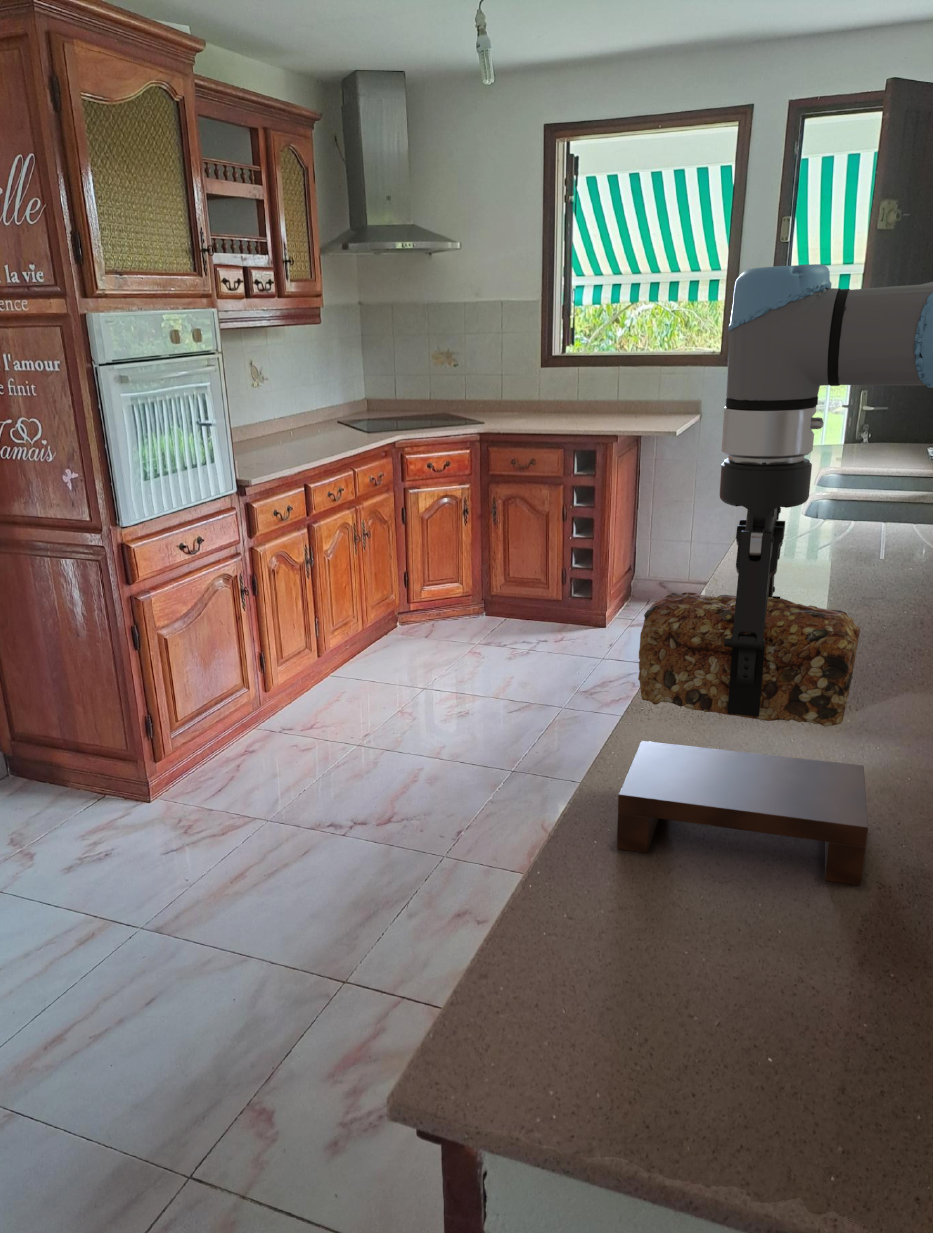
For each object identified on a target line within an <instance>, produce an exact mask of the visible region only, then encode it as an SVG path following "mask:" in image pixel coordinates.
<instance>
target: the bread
mask: <svg viewBox="0 0 933 1233" xmlns="http://www.w3.org/2000/svg"><path fill="white" fill-rule="evenodd" d="M735 604H736V595H731V594H720V595H716V596H714V595H705V594H699V593H697V592H686V591H685V592H682V593H679V592H672V593H670V594H666V595H665V596H664V597H661V598H659V599H657V600H656V601H654V602H652V604H651V605H650V607H649V608H648V609H647V610H646V612H645V613H644V614H643V617H644V618H643V625H642V628H641V631H640V637H639V649H638V660H639V661H638V678H637V680H638V681H639V682H638V683H639V688H640V696H641V699H642V701H646V702H650V703H651V704H652V705H659V704H660V703H669V704H673V705H675V706H678V707H680V708H681V707H684V708H685V709H688V710H692V711H701V712H704V713H716V714H722V715H728V716H734V717H740V718H747V719H753V720H759V721H764V722H765V721H766V722H772V721H785V722H789V721H794V722H797V723H809V724H813V725H820V726H822V727H824V728H827V727H834V726H837V725H841V724H842V723H843V721H844V717H845V712H846V709H847V706H848V700H849V696H850V690H851V684H852V680H853V673H854V666H855V662H856V656H857V651H858V645H859V640H860V633H861V632H860V631H861V626H857V625H856V624H855V622H854V618H852V617H850V616H848V614H847V612H846V611H844V610H839V609H827V608H822V607H818V606H815V605H811V604H810V605H805V604H802V603H796V602H794V601H790V600H788V599H785V598H783V597H782V598H781V597H780V599H776V598H772V597H768V602H767V611H766V621H765V630H764V640H765V652H764V664H763V676H762V688H761V700H760V712H759V717H755V716H745V715H735V714H727V712H728V698H729V684H730V669H731V655H732V647H724V640H725V638H727V639H731V637H732V636H733V626H734V615H735ZM741 634H754V635H756V634H755V633H752V632H741Z"/></svg>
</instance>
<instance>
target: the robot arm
mask: <svg viewBox="0 0 933 1233" xmlns="http://www.w3.org/2000/svg"><path fill="white" fill-rule="evenodd" d="M830 273H831V271H830V269H829V267H828V266H826V265H825V264H821V263H817V264H816V263H815V264H814V263H813V264H799V265H798V264H797V265H775V266H764V267H754V268H753V267H752V268H749V269H746V270H744V271H743V272H742V273H740V274H739V276H738V277H737V278H736V280H735V283H734V288H733V289H734V290H733V300H732V307H731V315H730V323H729V325H728V326H727V328H728V329H727V332H728V349H727V350H728V352H727V371H726V372H727V373H726V374H727V376H726V396H725V405H724V408H723V422H722V436H721V437H722V439H721V452H723V453H724V454H725V455H726V456H728V457H727V458H726V459H724V460H723V462H722V463H721V465H720V467H721V468H720V479H719V480H720V482H719V498H720V501H721V502H722V503H724V504H726V505H729V506H733V507H743V508H745V509H746V510H747V514H746V519H739V522H738V525H737V526H736V533H735V541H736V546H737V552H736V560H735V570H736V573H737V585H736V595H735V596H736V604H735V615H734V626H733V636H732V637H731V639H727V638H725V640H724V647H732V655H731V669H730V684H729V698H728V712H727V714H735V715H745V716H755V717H759V712H760V700H761V688H762V676H763V664H764V652H765V640H764V630H765V621H766V611H767V602H768V597H772V598H776V599H780V598H781V596H778V595H777V596H776V595H774V593H775V592H776V587H775V575H776V574H777V571H778V564H779V560H780V559H781V558H780V557H781V549H782V547H783V544H784V538H785V530H786V520H779V519H780V514H781V513H782V512H781V511H782V508H785V509H788V508H795V507H798V506H801V505H803V504H805V503H806V502H807V501H808V500H809V498H810V490H811V480H812V469H813V468H812V467H813V463H812V462H811V460H810V459H808V458H805V456H807V455H809V454H811V453H812V452H813V450H814V439H815V433H814V431H813V430H821V429H822V428H823V427H824V423H825V422H824V419H823V418H822V417H819V416H818V417H814V416H815V414H816V413H817V406H818V404H819V392H820V387H821V386H822V387H823V386H829V387H840V386H884V387H885V386H886V387H887V386H888V387H889V386H926V387H927V388H931V389H932V388H933V281H930V282H925V283H920V284H909V285H894V286H882V287H881V286H880V287H868V288H867V287H865V288H855V289H851V288H841V287H840V288H839V287H837V288H835V287H832V282H831V274H830ZM741 632H752V633H755V634H756V635H754V634H741Z"/></svg>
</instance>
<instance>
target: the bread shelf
mask: <svg viewBox="0 0 933 1233" xmlns="http://www.w3.org/2000/svg"><path fill="white" fill-rule="evenodd" d="M865 777H866V776H865V766H864V765H863V764H854V763H847V762H846V763H845V762H836V761H830V760H829V761H828V760H818V759H809V758H801V757H791V756H782V755H775V754H774V755H773V754H765V753H756V752H747V751H738V750H730V749H729V750H727V749H719V748H710V747H701V746H691V745H683V744H676V743H675V744H674V743H673V744H672V743H664V742H656V741H646V740H641V741H640V743H639V745H638V748H637V750H636V752H635V754H634V756H633V759H632V761H631V764H630V767H629V768H628V771H627V773H626V776H625V778H624V780H623V783H622V785H621V787H620V790H619V792H618V795H617V824H616V826H617V828H616V829H617V831H616V832H617V833H616V849H617V850H623V851H629V852H636V853H641V854H642V853H643V854H648V853H649V850H650V847H651V844H652V841H653V837H654V835H655V832H656V829H657V825H658V823H659V820H660V819H661V820H667V821H675V822H681V823H688V824H689V823H691V824H696V825H704V826H711V827H718V828H726V829H733V830H740V831H746V832H747V831H748V832H752V833H753V832H754V833H760V834H761V833H762V834H768V835H775V836H783V837H790V838H797V839H805V840H811V841H813V840H814V841H819V842H824V881H827V882H831V883H840V884H846V885H852V886H860V887H861V885H862V878H863V870H864V864H865V855H866V848H867V840H868V834H869V833H868V832H869V820H868V819H869V818H868V806H867V792H866V791H867V790H866V778H865Z"/></svg>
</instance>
